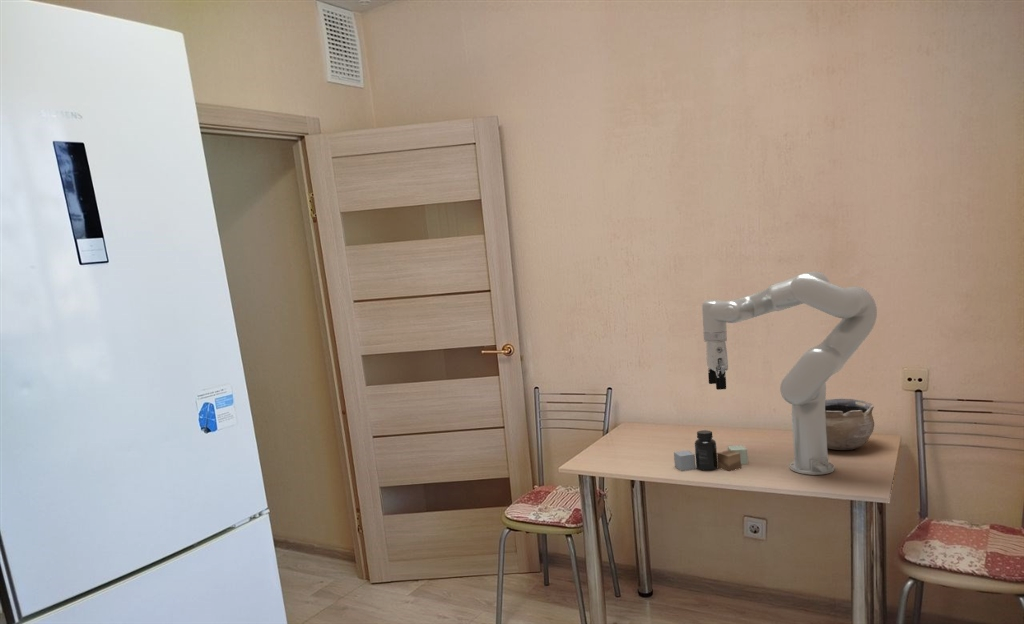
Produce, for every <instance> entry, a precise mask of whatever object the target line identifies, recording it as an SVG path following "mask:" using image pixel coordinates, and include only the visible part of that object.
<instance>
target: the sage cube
mask: <svg viewBox="0 0 1024 624" xmlns="http://www.w3.org/2000/svg"><path fill="white" fill-rule="evenodd" d="M727 450H731V451H734V452H738V453H740V459H741V465H748V464H749V463H748V462H749V461H748V449H747V448H746V447H745V445H743V444H742V445H740V444H739V445H737V444H736V445H727Z"/></svg>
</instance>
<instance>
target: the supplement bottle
mask: <svg viewBox="0 0 1024 624" xmlns="http://www.w3.org/2000/svg"><path fill="white" fill-rule="evenodd" d="M696 437H697V439H696V440H695V441H694V454H695V466H696V468H697V470H700V471H707V472H708V471H709V472H710V471H715V470H716V469H718V457H717V453H718V451H717V449H718V447H717V442H716V440H715V439H713V431H711V430H706V429H704V430H698V431H697V432H696Z"/></svg>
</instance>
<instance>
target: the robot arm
mask: <svg viewBox="0 0 1024 624" xmlns="http://www.w3.org/2000/svg"><path fill="white" fill-rule="evenodd" d="M803 304H805V305H806V306H809V307H811V308H813V309H815V310H819V311H821V312H823V313H825V314H828V315H829V316H832V317H835V318H838V319H841V320H840V321H839V322H838V323H837V324H836V325H835V326H834V327H833V329H832V330H831V331H830V333H829V334H828V335H827V336H826V338H824V340H823V341H821V343H819V344H817V345H815V346H812V347H811V348H810V349H808V350H807V351H806V352H805V353H804V354H802V356H801V357H800V358H799V359H798V361H797V362H796V363H795V364H794V366H792V368H791V369H790V370H789V372H787V374H786V375H785V376H784V378H783V379H782V380H781V383H780V389H779V391H780V394H781V397H782V398H783V400H784V401H785V402H786V403H788V404H790V405H791V424H792V439H793V440H792V441H793V457H794V460H793V461H791V462H790V463H789V469H790V470H791V471H793V472H795V473H798V474H802V475H808V476H809V475H812V476H814V475H815V476H818V475H819V476H820V475H827V474H828V475H829V474H831V473H833V472H834V471H835V465H834V464H833V463H831V462H829V455H828V451H829V450H828V448H827V434H826V413H825V400H827V399H826V396H827V384H826V383H827V381H828V380H829V379H830V378H831V377H833V375H835V374H836V373H838V372H840V371H841V370H842V369H843V367H844V366H845V365H846V364H847V362H848V361H849V359H850V358H851V357H852V356H853V354H855V352H856V351H857V350H858V349H859V348H860V346H861V345H862V344H863V343H864V341H865V340H867V338H868V337H869V335H870V333H871V332H872V331H873V329H874V326H875V324H876V322H877V318H878V317H877V316H878V308H877V304H876V302H875V299H874V297H873V296H872V294H871V293H870V291H868V290H867V289H865V288H863V287H860V286H848V287H845V288H843V287H842V286H839V285H836V284H834V283H831V282H830V281H829V278H828V277H827V276H826V275H825V274H824V273H822V272H819V271H809V272H803V273H800V274H797V276H795V277H792V278H789V279H785V280H783V281H780V282H777V283H776V282H775V283H774V284H772V285H770V286H768V287H767V288H766V289H764V290H762V291H758V292H755V293H754V294H749V295H748V296H744V297H741V298H740V297H739V298H736V299H732V300H731V299H730V300H725V301H724V300H722V299H710V300H705V301H704V302H702V305H701V308H702V311H701V312H702V327H703V329H702V330H703V341H704V342H705V343H706V347H705V348H706V365H707V367H708V368H707V371H708V384H710V385H714V384H715V389H716V390H718V391H719V390H727V375H726V372H727V371H728V370H729V363H728V362H729V360H728V351H727V343H726V342H727V341H728V334H727V333H728V332H727V331H728V330H727V323H728V324H736V323H739V322H740V323H741V322H742V321H747V320H750V319H754V318H757V317H759V316H762V315H763V316H764V315H766V314H769V313H772V312H781V311H784V310H787V309H791V308H793V307H797V306H800V305H803Z"/></svg>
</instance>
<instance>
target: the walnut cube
mask: <svg viewBox="0 0 1024 624" xmlns="http://www.w3.org/2000/svg"><path fill="white" fill-rule="evenodd" d="M717 462H718V467H719V469H721V468H722V469H721V470H724V471H727V472H732V471H736V470H739V468H740V469H742V464H741V459H740V453H738V452H734V451H731V450H728V449H727V450H722V451H719V452H717ZM718 467H717V468H718ZM735 469H736V470H735ZM731 470H732V471H731Z"/></svg>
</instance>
